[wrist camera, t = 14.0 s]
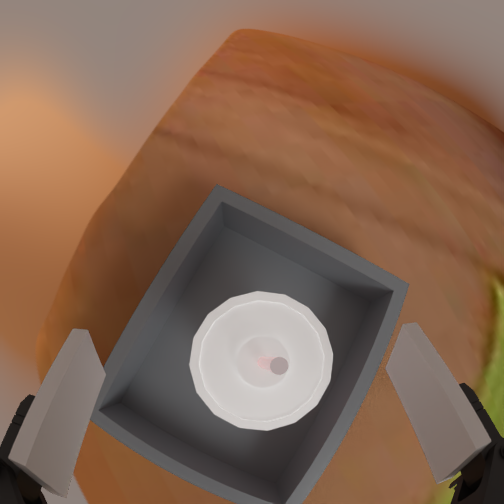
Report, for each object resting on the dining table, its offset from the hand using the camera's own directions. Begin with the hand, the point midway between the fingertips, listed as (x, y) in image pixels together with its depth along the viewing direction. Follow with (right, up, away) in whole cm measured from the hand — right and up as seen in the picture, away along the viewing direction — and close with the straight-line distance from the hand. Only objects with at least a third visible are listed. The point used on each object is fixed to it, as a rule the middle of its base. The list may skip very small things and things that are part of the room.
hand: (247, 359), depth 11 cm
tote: (0, -4, +10) cm, 11 cm away
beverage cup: (0, -3, +9) cm, 10 cm away
